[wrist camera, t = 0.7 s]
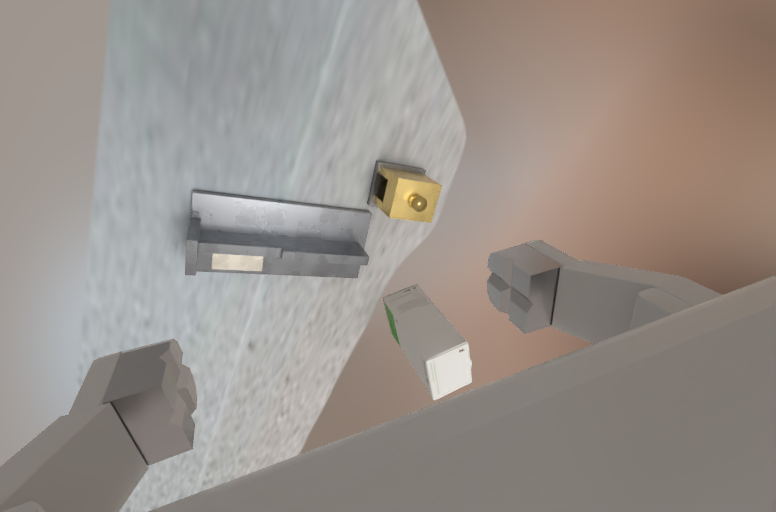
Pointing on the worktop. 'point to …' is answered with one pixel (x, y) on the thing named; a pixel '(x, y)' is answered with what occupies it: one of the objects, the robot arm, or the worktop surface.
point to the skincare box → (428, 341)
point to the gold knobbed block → (408, 195)
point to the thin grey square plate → (381, 182)
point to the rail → (274, 237)
